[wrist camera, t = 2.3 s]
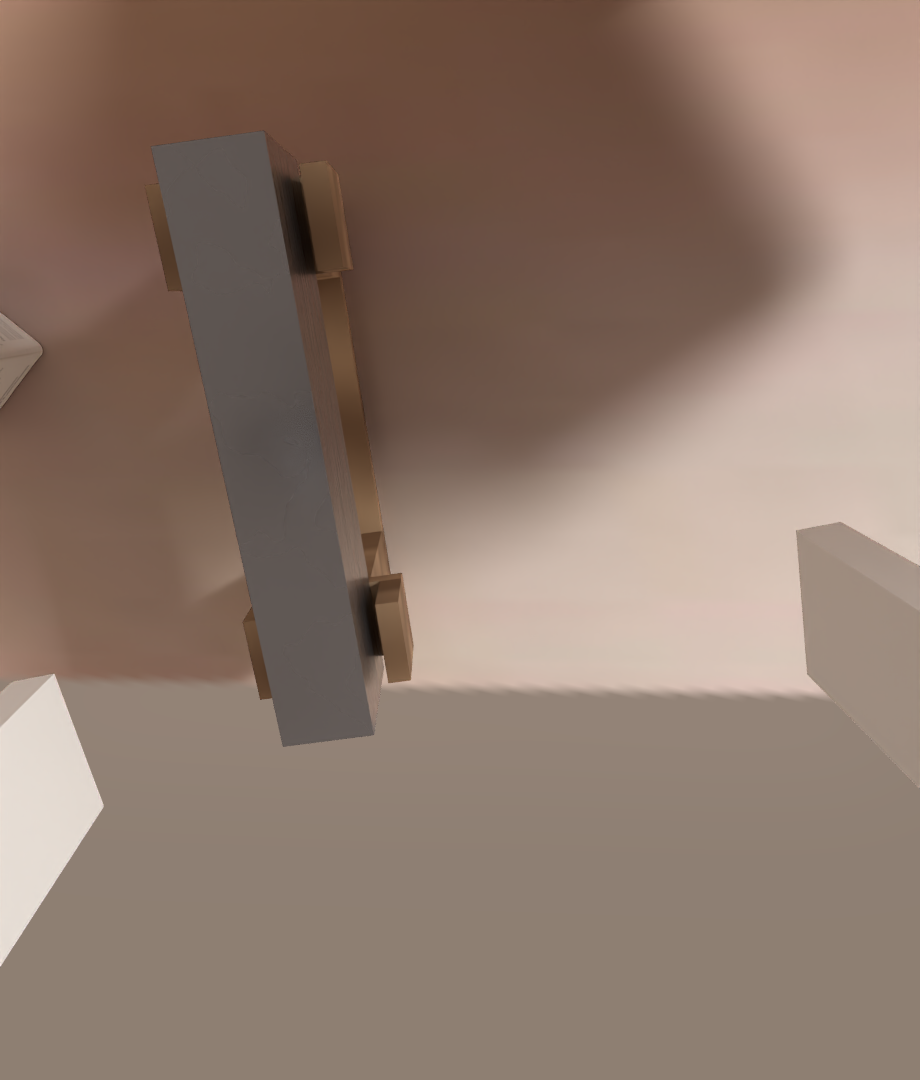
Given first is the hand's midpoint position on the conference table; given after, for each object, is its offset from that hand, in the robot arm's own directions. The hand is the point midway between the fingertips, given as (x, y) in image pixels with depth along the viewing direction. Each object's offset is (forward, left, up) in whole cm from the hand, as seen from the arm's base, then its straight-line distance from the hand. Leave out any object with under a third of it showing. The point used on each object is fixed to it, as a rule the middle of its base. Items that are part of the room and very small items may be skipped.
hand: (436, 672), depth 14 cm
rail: (-3, -4, -16) cm, 16 cm away
